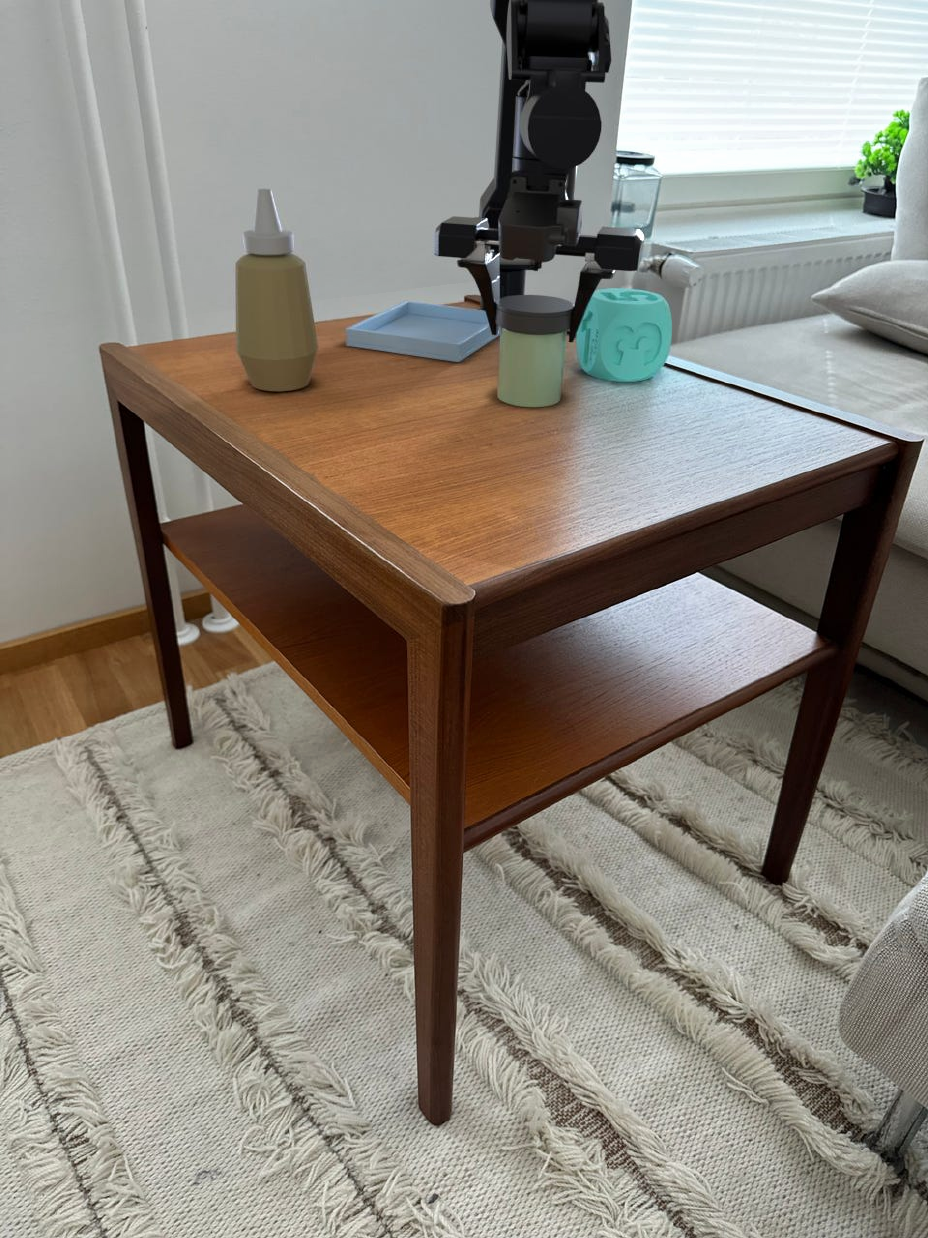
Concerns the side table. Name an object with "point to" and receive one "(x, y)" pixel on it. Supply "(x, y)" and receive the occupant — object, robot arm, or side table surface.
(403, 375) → the side table surface
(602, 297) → the decorative dice
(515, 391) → the jar
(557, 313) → the lid
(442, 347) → the tray
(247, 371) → the squeeze bottle
